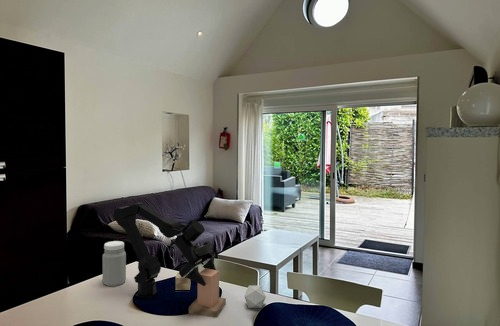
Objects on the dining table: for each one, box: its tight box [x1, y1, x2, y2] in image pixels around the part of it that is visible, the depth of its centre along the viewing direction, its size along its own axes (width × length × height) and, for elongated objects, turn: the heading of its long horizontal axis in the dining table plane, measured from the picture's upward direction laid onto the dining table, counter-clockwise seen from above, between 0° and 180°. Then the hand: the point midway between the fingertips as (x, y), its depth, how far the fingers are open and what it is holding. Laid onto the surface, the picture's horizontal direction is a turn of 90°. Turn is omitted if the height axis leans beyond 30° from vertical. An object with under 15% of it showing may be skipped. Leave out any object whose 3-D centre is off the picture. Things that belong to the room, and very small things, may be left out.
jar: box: [102, 240, 127, 287], centre depth 158 cm, size 10×10×18 cm
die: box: [244, 285, 266, 309], centre depth 138 cm, size 8×9×10 cm
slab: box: [188, 297, 227, 318], centre depth 135 cm, size 11×11×3 cm
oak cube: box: [175, 272, 191, 290], centre depth 154 cm, size 6×6×6 cm
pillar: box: [197, 268, 220, 308], centre depth 135 cm, size 6×6×12 cm
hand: (211, 280), depth 134 cm, fingers open, 9 cm apart
